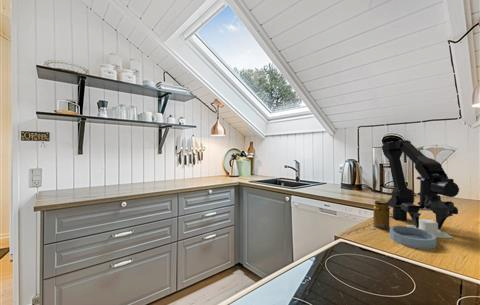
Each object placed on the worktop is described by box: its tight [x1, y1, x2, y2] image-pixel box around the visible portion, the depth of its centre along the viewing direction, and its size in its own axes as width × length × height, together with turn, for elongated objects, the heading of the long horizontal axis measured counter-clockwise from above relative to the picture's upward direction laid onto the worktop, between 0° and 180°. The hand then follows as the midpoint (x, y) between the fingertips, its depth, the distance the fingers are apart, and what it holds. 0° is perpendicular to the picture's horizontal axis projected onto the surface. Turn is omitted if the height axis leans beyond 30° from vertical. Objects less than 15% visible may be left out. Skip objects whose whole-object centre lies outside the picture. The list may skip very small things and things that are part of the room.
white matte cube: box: [418, 218, 439, 234], centre depth 95 cm, size 4×4×4 cm
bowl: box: [389, 225, 437, 250], centre depth 86 cm, size 14×14×4 cm
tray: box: [405, 224, 453, 239], centre depth 95 cm, size 12×10×1 cm
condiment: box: [370, 200, 390, 230], centre depth 100 cm, size 7×8×12 cm
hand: (427, 228), depth 95 cm, fingers open, 8 cm apart
